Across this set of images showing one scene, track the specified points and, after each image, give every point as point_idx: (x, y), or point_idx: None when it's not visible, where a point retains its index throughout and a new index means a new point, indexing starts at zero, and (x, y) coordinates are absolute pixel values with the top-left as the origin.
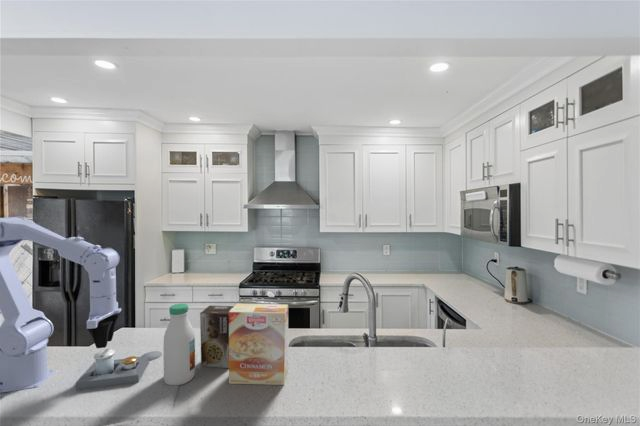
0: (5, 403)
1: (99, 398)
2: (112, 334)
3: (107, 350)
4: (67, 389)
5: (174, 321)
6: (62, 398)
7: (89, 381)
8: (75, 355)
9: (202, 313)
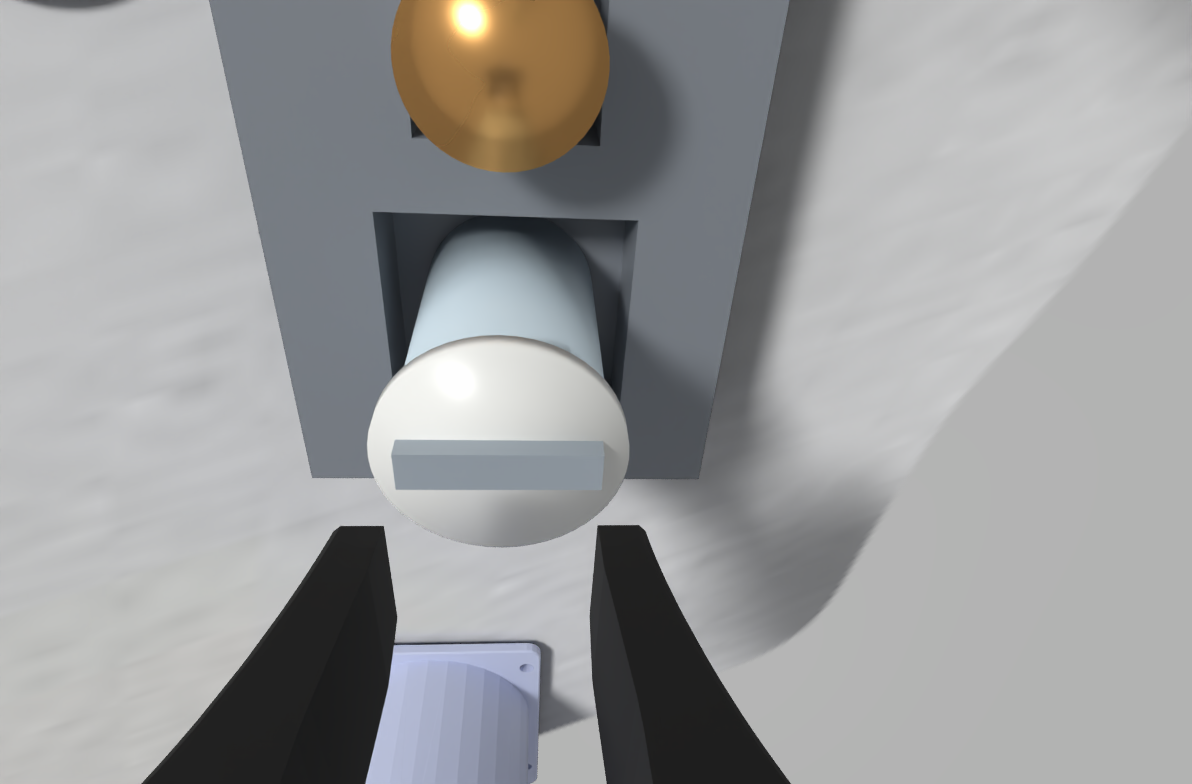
0: None
1: (887, 209)
2: (344, 615)
3: (446, 455)
4: None
5: None
6: (737, 472)
7: (715, 386)
8: (40, 633)
9: None
